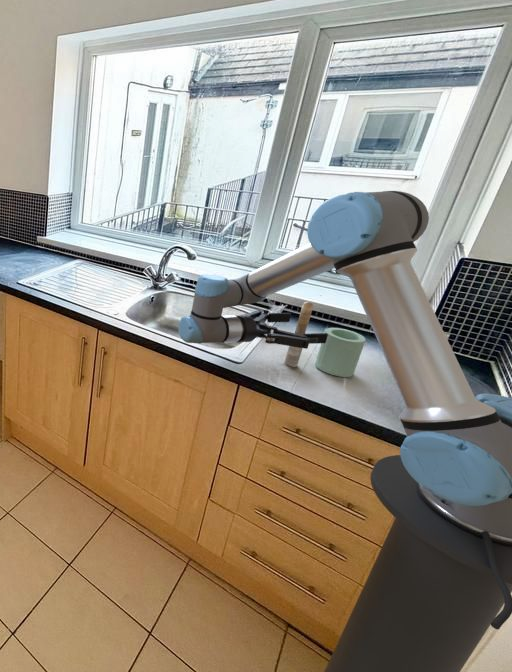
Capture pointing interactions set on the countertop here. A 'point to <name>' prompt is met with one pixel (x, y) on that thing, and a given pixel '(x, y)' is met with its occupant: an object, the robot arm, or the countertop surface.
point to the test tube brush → (275, 311)
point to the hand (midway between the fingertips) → (306, 327)
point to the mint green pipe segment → (340, 352)
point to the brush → (301, 327)
